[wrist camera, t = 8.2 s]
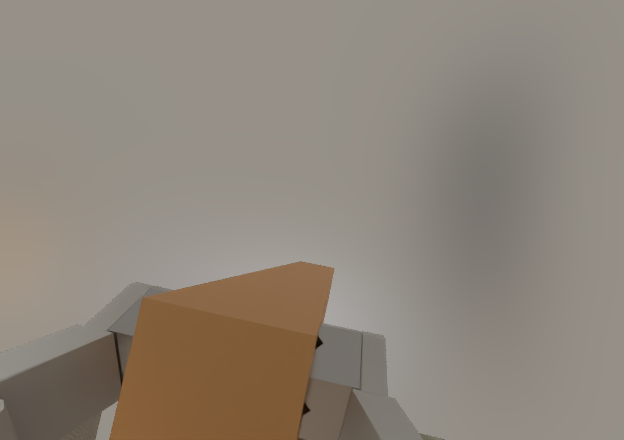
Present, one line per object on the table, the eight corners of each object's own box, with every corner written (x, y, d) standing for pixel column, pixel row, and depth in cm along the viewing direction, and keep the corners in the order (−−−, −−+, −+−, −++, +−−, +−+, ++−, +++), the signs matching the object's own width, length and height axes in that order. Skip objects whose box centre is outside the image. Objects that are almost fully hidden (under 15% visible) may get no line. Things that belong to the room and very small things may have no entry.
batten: (284, 497, 5) (316, 336, 6) (106, 450, 6) (142, 297, 6) (328, 296, 30) (334, 268, 30) (295, 289, 30) (300, 261, 31)
